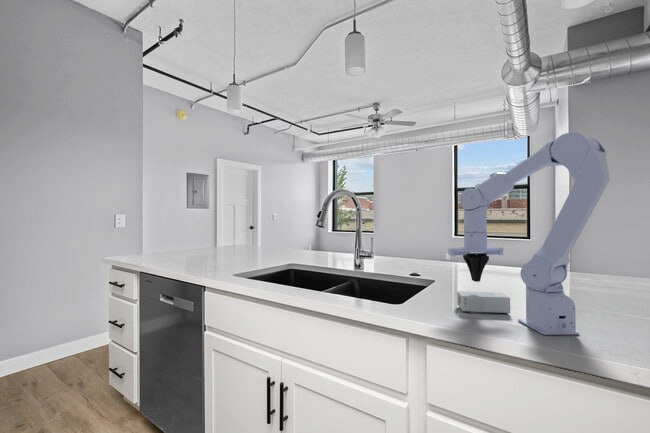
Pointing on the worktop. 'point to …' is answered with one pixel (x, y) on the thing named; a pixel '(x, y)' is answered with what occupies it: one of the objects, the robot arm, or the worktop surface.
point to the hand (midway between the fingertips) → (475, 280)
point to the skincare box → (483, 301)
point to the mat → (481, 312)
